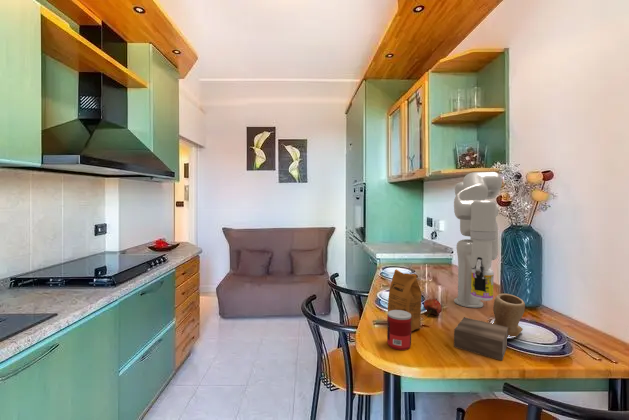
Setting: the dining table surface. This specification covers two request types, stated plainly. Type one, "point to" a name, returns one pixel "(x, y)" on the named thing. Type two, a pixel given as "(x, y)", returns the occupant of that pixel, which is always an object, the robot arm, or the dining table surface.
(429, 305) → the pomegranate
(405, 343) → the canned food
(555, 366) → the dining table surface
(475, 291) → the supplement bottle
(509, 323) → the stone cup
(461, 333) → the block
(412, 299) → the coffee package
